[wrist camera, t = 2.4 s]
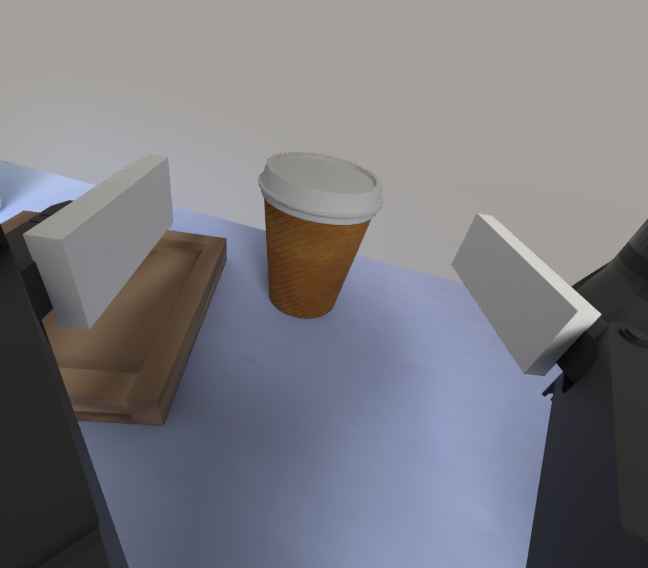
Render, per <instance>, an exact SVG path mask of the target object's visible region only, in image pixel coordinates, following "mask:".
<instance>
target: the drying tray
mask: <svg viewBox="0 0 648 568" xmlns="http://www.w3.org/2000/svg"><path fill="white" fill-rule="evenodd" d="M36 215H39V213H38V212H31V211H22V212H21V213H19V214H17V215H16V216H14V217H12V218H10V219H9V220H7V221H5V222H4V223H2V224H1V227H2V229H3V231H4V234H6V233H8V232H10V231H11V230H13V229H14V228H16V227H18V226H19V225H21V224H23V223H24V222H28V220H29V219H31V218H32V217H34V216H36ZM225 262H226V238H220V237H212V236H205V235H198V234H191V233H183V232H176V231H169V230H167V231H166V232H165V233H164V235H163V236H162V237H161V238H160V240H159V241H158V242H157V244H156V245H155V246H154V247H153V249H152V250H151V251H150V253H149V254H148V255H147V257H146V258H145V259H144V260H143V262H142V263H141V264H140V266H139V267H138V268H137V269H136V271H135V272H134V273H133V275H132V276H131V277H130V278H129V280H128V281H127V282H126V284H125V285H124V286H123V287H122V289H121V290H120V291H119V293H118V294H117V295H116V296H115V298H114V299H113V300H112V302H111V303H110V304H109V306H108V307H107V308H106V309H105V311H104V312H103V313H102V315H101V316H100V317H99V318H98V320H97V321H96V322H95V324H94V325H93V326H92V327H91V329H81V328H72V327H62V326H58V323H57V321H56V318H55V316H54V313H53V311H52V310H51V311H50V312H49V313H48V314H47V315H46V316H45V317H44V318H43V319H42V323H43V325H44V327H45V330H46V333H47V335H48V338H49V341H50V344H51V347H52V350H53V353H54V355H55V358H56V361H57V364H58V367H59V370H60V373H61V375H62V378H63V381H64V384H65V387H66V390H67V393H68V395H69V398H70V401H71V404H72V407H73V410H74V413H75V415H76V418H77V420H80V421H97V422H114V423H131V424H148V425H163V424H164V421H165V418H166V416H167V413H168V411H169V408H170V405H171V403H172V400H173V398H174V395H175V392H176V390H177V387H178V385H179V382H180V379H181V377H182V374H183V372H184V369H185V366H186V364H187V361H188V359H189V356H190V353H191V351H192V348H193V345H194V343H195V340H196V338H197V335H198V332H199V330H200V327H201V325H202V322H203V319H204V317H205V314H206V312H207V309H208V306H209V304H210V301H211V299H212V296H213V293H214V291H215V288H216V286H217V283H218V280H219V278H220V275H221V273H222V270H223V267H224V265H225Z"/></svg>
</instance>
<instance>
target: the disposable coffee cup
mask: <svg viewBox="0 0 648 568" xmlns="http://www.w3.org/2000/svg"><path fill="white" fill-rule="evenodd" d="M258 181H259V186H260V188H261V192H262V195H263V197H264V203H265V221H266V239H267V240H266V241H267V258H268V259H267V260H268V276H269V277H268V278H269V296H270V299H271V301H272V303H273V304H274V305H275V306H276V307H277V308H278V309H279V310H280V311H282V312H284V313H286V314H288V315H291V316H294V317H299V318H316V317H320V316H323V315H325V314H327V313H328V312H329V311H331V309H332V308H333V306H334V304H335V302H336V299H337V297H338V295H339V292H340V290H341V288H342V285H343V283H344V281H345V278H346V276H347V274H348V272H349V269H350V267H351V265H352V262H353V260H354V258H355V255H356V253H357V251H358V249H359V246H360V244H361V242H362V239H363V237H364V235H365V232H366V230H367V228H368V226H369V223H370V221H371V219H372V218H373V217H374V216H375V215H376V213H377V212H378V211H379V210H380V209H381V207H382V205H383V198H382V196H381V187H382V184H381V180H380V179H379V178H378V176H377V175H375V174H374V173H373V172H371V171H369V170H368V169H366V168H364V167H362V166H360V165H357V164H355V163H352V162H349V161H346V160H342V159H339V158H335V157H331V156H326V155H320V154H314V153H302V152H289V153H280V154H276V155H273V156H271V157H270V158H268V159H267V163H266V166H265V169H264V171H263V172H262V173H261V174H260V176H259V179H258Z"/></svg>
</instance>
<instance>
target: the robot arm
mask: <svg viewBox="0 0 648 568" xmlns="http://www.w3.org/2000/svg"><path fill="white" fill-rule="evenodd" d="M172 223H173V213H172V202H171V189H170V177H169V166H168V157H163V156H158V155H152V154H145V155H144V156H142V157H141V158H139V159H138V160H136V161H135V162H133V163H131V164H130V165H128V166H127V167H125V168H124V169H122V170H121V171H119V172H118V173H116V174H115V175H113V176H111V177H110V178H108V179H107V180H105V181H104V182H102V183H101V184H99V185H98V186H96V187H95V188H93V189H91V190H90V191H88V192H87V193H85V194H84V195H82V196H81V197H79V198H78V199H76V200H75V201H71V200H69V201H66V202H62V203H59V204H56V205H52V206H50V207H49V208H47V209H45V210H44V211H42V212H41V213H39V215H36V216H34V217H32V218H31V219H29V220H28V222H24V223H23V224H21V225H19V226H18V227H16V228H14V229H13V230H11V231H10V232H8V233H6V234H4V231H3V229H2V227H1V224H0V568H129V567H128V564H127V561H126V558H125V556H124V553H123V550H122V547H121V544H120V541H119V538H118V536H117V533H116V530H115V527H114V524H113V521H112V518H111V516H110V513H109V510H108V507H107V504H106V501H105V498H104V495H103V493H102V490H101V487H100V484H99V481H98V478H97V475H96V473H95V470H94V467H93V464H92V461H91V458H90V455H89V453H88V450H87V447H86V444H85V441H84V438H83V435H82V433H81V430H80V427H79V424H78V421H77V418H76V415H75V413H74V410H73V407H72V404H71V401H70V398H69V395H68V393H67V390H66V387H65V384H64V381H63V378H62V375H61V373H60V370H59V367H58V364H57V361H56V358H55V355H54V353H53V350H52V347H51V344H50V341H49V338H48V335H47V333H46V330H45V327H44V325H43V323H42V319H43V318H44V317H45V316H46V315H47V314H48V313H49V312H50V311H51V310H52V311H53V313H54V316H55V318H56V321H57V323H58V326H62V327H72V328H81V329H91V327H92V326H93V325H94V324H95V322H96V321H97V320H98V318H99V317H100V316H101V315H102V313H103V312H104V311H105V309H106V308H107V307H108V306H109V304H110V303H111V302H112V300H113V299H114V298H115V296H116V295H117V294H118V293H119V291H120V290H121V289H122V287H123V286H124V285H125V284H126V282H127V281H128V280H129V278H130V277H131V276H132V275H133V273H134V272H135V271H136V269H137V268H138V267H139V266H140V264H141V263H142V262H143V260H144V259H145V258H146V257H147V255H148V254H149V253H150V251H151V250H152V249H153V247H154V246H155V245H156V244H157V242H158V241H159V240H160V238H161V237H162V236H163V235H164V233H165V232H166V231H167V229H168V228H169V227H170V226H171V224H172ZM451 265H452V266H453V268H454V269H455V271H456V272H457V274H458V275H459V277H460V278H461V280H462V281H463V283H464V284H465V286H466V287H467V289H468V290H469V292H470V293H471V295H472V297H473V298H474V300H475V301H476V303H477V304H478V306H479V307H480V309H481V310H482V312H483V313H484V315H485V316H486V318H487V319H488V321H489V322H490V324H491V325H492V327H493V328H494V330H495V331H496V333H497V334H498V336H499V337H500V339H501V340H502V342H503V343H504V345H505V346H506V348H507V349H508V351H509V352H510V354H511V355H512V357H513V358H514V360H515V361H516V363H517V364H518V366H519V367H520V369H521V370H522V372H523V373H524V374H531V375H541V376H545V375H546V374H547V373H548V371H549V370H550V369H551V368H552V367H553V366H554V365H555V364H556V363H557V364H558V366H559V367H560V368H561V370H562V371H563V372H562V373H561V374H560V375H559V376H558V377H557V378H556V379H555V380H554V381H553V382H552V383H551V384H550V386H549V387H548V388H547V389H546V390H545V391H544V392H543V393H542V395H543V396H546V395H547V394H550V393H553V397H552V398H551V399H550V400H551V401H552V405H551V412H550V418H549V424H548V431H547V437H546V444H545V450H544V456H543V463H542V469H541V475H540V482H539V488H538V495H537V501H536V507H535V514H534V520H533V526H532V533H531V539H530V546H529V552H528V558H527V565H526V568H648V219H647V220H646V221H645V223H644V224H643V225H642V226H641V227H640V229H639V230H638V231H637V232H636V233H635V234H634V236H633V237H632V238H631V239H630V240H629V242H628V243H627V244H626V245H625V246H624V247H623V249H622V250H621V251H620V252H619V253H618V254H617V256H616V257H615V258H614V259H613V260H611V261H610V262H609V263H607V264H605V265H604V266H602V267H601V268H599V269H598V270H596V271H595V272H593V273H591V274H590V275H588V276H587V277H585V278H583V279H582V280H581V281H579V282H577V283H576V284H574V285H573V286H572V287H570V286H569V285H568V284H567V283H566V282H565V281H564V280H563V279H562V278H561V277H560V276H559V275H557V274H556V273H555V272H554V271H553V270H552V269H551V268H550V267H549V266H548V265H546V264H545V263H544V262H543V261H542V260H541V259H540V258H538V256H536V255H535V254H534V253H533V252H532V251H531V250H530V249H529V248H528V247H526V246H525V245H524V244H523V243H522V242H521V241H520V240H519V239H517V237H515V236H514V235H513V234H512V233H511V232H510V231H509V230H508V229H506V228H505V227H504V226H503V225H502V224H501V223H500V222H499V221H498V220H497V219H495V218H494V217H493V216H490V215H485V214H479V213H477V215H476V216H475V218H474V220H473V222H472V224H471V226H470V228H469V230H468V232H467V234H466V236H465V238H464V240H463V242H462V244H461V246H460V248H459V250H458V252H457V254H456V256H455V258H454V260H453V262H452V264H451Z"/></svg>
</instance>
